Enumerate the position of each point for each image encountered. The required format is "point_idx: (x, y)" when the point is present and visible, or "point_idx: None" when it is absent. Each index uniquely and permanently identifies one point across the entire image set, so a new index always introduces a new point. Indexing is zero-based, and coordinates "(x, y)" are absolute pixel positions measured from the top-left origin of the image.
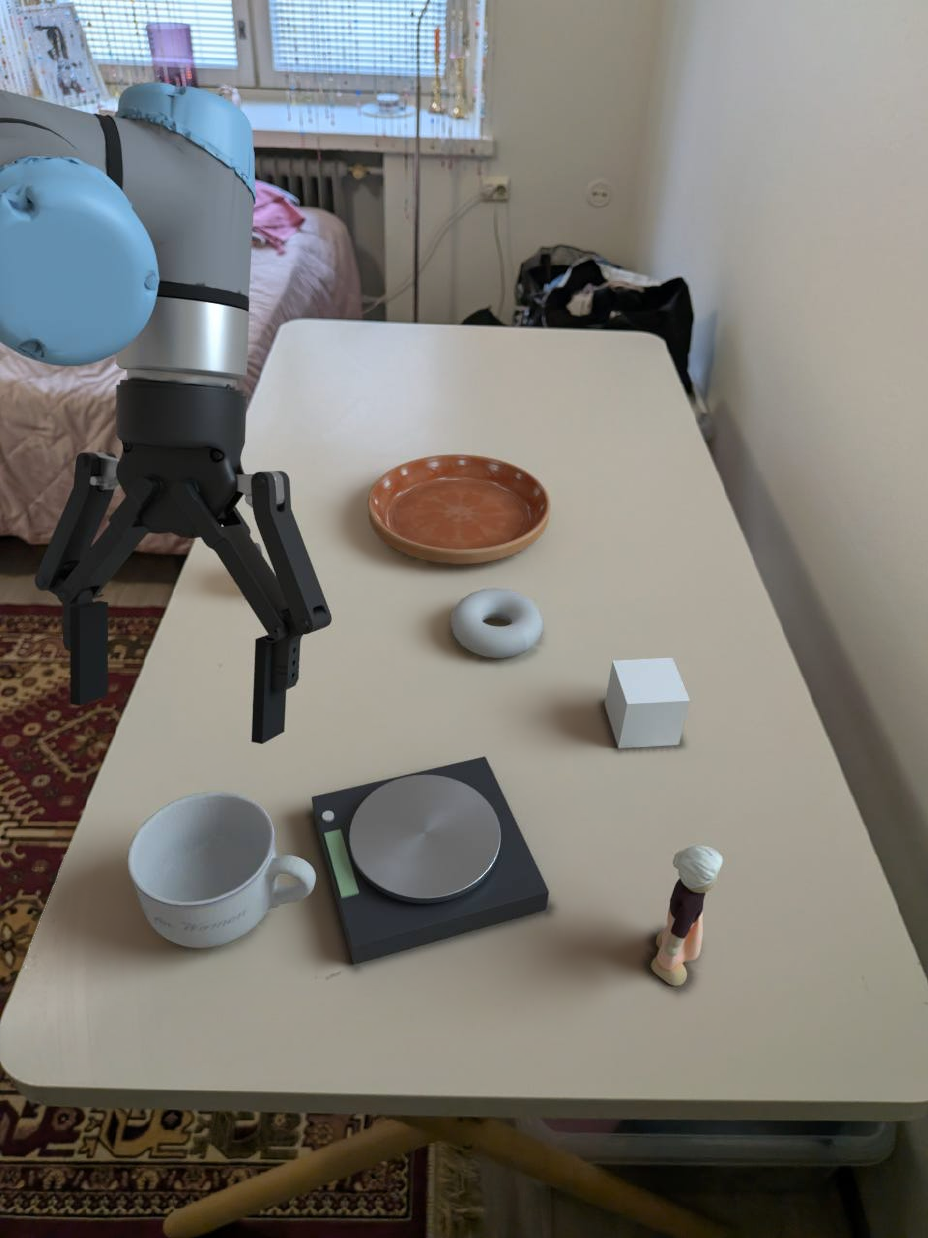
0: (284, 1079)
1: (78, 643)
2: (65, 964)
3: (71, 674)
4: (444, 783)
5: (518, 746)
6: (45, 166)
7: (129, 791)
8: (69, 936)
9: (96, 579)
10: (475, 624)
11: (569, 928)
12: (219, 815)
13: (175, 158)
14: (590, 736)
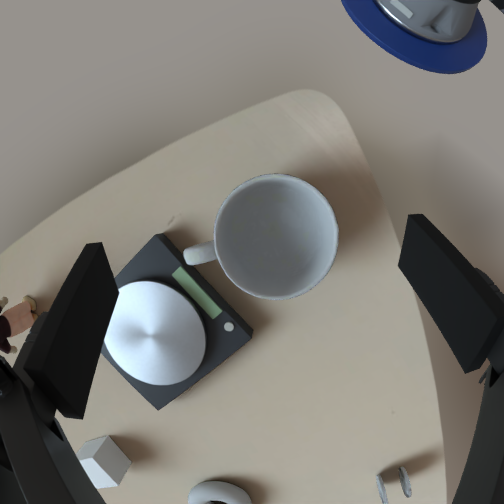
0: (164, 149)
1: (463, 272)
2: (340, 150)
3: (444, 237)
4: (161, 379)
5: (157, 425)
6: None
7: (394, 289)
8: (353, 168)
9: (501, 389)
10: (225, 499)
11: None
12: (296, 283)
13: None
14: (125, 440)
